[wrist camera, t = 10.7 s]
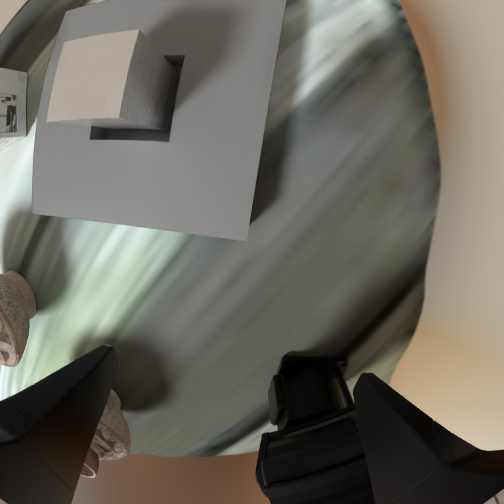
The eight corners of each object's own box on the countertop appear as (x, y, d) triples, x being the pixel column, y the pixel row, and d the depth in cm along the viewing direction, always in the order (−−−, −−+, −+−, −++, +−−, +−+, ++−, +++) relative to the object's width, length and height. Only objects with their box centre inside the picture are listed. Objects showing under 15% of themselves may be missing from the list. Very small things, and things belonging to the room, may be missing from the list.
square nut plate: (280, 18, 14) (286, -2, 11) (246, 228, 19) (246, 241, 17) (83, 23, 13) (66, 11, 10) (54, 205, 18) (32, 213, 15)
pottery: (17, 229, 19) (-73, 279, 8) (162, 413, 26) (141, 501, 15) (-18, 277, 20) (-79, 324, 9) (103, 424, 28) (78, 492, 17)
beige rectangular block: (180, 75, 15) (139, 29, 8) (170, 131, 16) (118, 117, 9) (126, 76, 15) (64, 42, 7) (117, 129, 16) (46, 122, 9)
